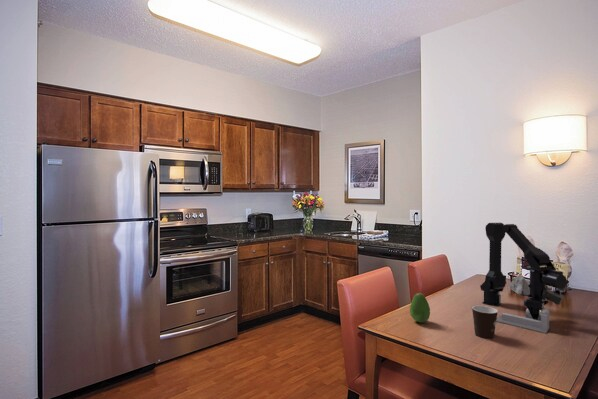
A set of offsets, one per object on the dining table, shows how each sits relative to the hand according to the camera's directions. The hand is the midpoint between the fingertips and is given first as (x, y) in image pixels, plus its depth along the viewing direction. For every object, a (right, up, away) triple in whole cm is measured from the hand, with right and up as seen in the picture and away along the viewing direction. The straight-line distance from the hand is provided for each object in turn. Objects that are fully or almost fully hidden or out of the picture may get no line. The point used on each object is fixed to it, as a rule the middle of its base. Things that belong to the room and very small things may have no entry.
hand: (537, 319), depth 146 cm
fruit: (-49, -1, 0) cm, 50 cm away
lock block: (0, -1, 0) cm, 1 cm away
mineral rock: (+20, 0, +43) cm, 48 cm away
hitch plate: (-8, -1, -3) cm, 9 cm away
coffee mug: (-28, -2, -13) cm, 31 cm away
